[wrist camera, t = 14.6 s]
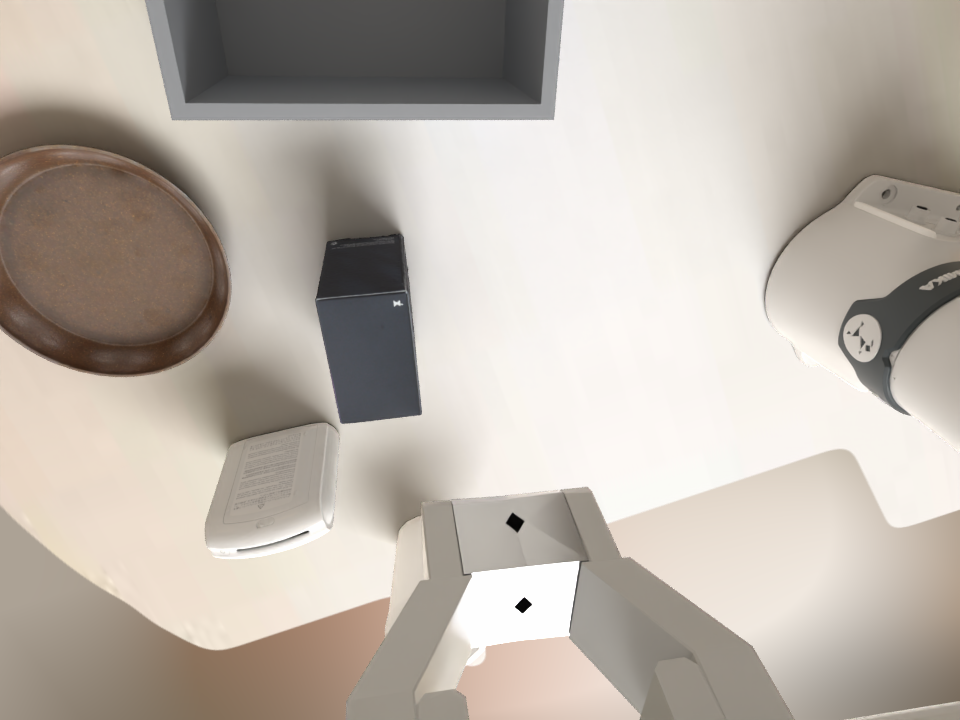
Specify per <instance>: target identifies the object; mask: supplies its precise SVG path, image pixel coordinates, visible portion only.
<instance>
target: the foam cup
mask: <svg viewBox="0 0 960 720" xmlns="http://www.w3.org/2000/svg"><path fill="white" fill-rule="evenodd" d="M421 580H424V573H423V553H422V524H421V516H418V517H416V518H413V519H411V520H409V521H407V522H406V523H405V524H404V525H403V526H402V527H401V529H400V530H399V533H398V538H397V545H396V554H395V563H394V571H393V580H392V589H391V598H390V608H389V614H388V617H387V622H386V626H385V637H386V635H387V634H388V632H389V630H390V629H391V627H392V626H393V624H394V622H395V621H396V619H397V617H398V616H399V614H400V612H401V611H402V609H403V608H404V606H405V604H406V603H407V601H408V599H409V598H410V596H411V594H412V593H413V591H414V589H415V588H416V586H417V585H418V583H419V581H421ZM485 647H486V646H480V647H474V648H471V653H470V656H469V658H468V661H467V663H466V665H468V664H470V663H471V662H473V661H474V660H475V659H476V658H477V657H478V656H479V655H480V654H481V653H482V652H483V651H484V650H485Z"/></svg>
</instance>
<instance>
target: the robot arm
mask: <svg viewBox="0 0 960 720" xmlns="http://www.w3.org/2000/svg"><path fill="white" fill-rule="evenodd" d="M884 191H885V192H884ZM883 192H884V194H883V195H882V193H883ZM765 305H766V312H767V316H768V319H769V321H770V323H771V325H772V327H773V328H774V329H775V331H776V332H777V333H778V334H780V335H781V336H782V337H783V338H785V339H786V340H788V341H789V342H790V343H791V344H792V345H793V347H794V350H795V353H796V356H797V358H798V359H799V361H800V362H802V363H803V364H805V365H806V366H808V367H816V366H822V367H824V368H825V369H827V370H828V371H830V372H831V373H833V374H834V375H836V376H837V377H839V378H840V379H842V380H843V381H845V382H846V383H848V384H849V385H851V386H852V387H854V388H855V389H857V390H859V391H863V392H867V391H871V392H872V394H873V395H875V396H876V397H877V398H878V399H879V400H881V401H882V402H883V403H885V404H887V405H889V406H891V407H893V408H894V409H895V410H897V411H899V412H901V413H903V414H906V415H910V416H913V417H914V418H915V419H917V420H918V421H919V422H921V423H922V424H923V425H924V426H926V427H927V428H928V429H929V430H931V431H932V432H933V433H935V434H936V435H937V436H938V437H940V438H941V439H942V440H943V441H945V442H946V443H947V444H948V445H950V446H951V447H952V448H954V449H955V450H956V451H957V452H959V453H960V193H955V192H951V191H946V190H942V189H937V188H933V187H929V186H924V185H920V184H915V183H911V182H906V181H902V180H897V179H893V178H889V177H884V176H880V175H872V176H869V177H867V178H865V179H864V180H863V181H861V182H860V183H859V184H858V185H857V186H856V187H855V188H854V189H853V190H852V191H851V192H850V194H849V195H848V196H847V197H846V198H845V199H844V200H843V201H842V202H841V203H840V204H839V205H837V206H836V207H834V208H833V209H831V210H830V211H828V212H826V213H825V214H823V215H821V216H820V217H818V218H817V219H815V220H814V221H812V222H811V223H810V224H809V225H807V226H806V227H805V228H804V229H803V230H802V231H800V232H799V233H798V234H797V235H796V236H795V237H794V239H793V240H792V241H791V242H790V243H789V244H788V246H787V247H786V248H785V249H784V251H783V252H782V254H781V255H780V257H779V259H778V260H777V262H776V264H775V266H774V268H773V270H772V273H771V275H770V278H769V281H768V285H767V289H766V297H765ZM421 524H422V553H423V573H424V580H421V581H419V583H418V585H417V586H416V588H415V589H414V591H413V593H412V594H411V596H410V598H409V599H408V601H407V603H406V604H405V606H404V608H403V609H402V611H401V612H400V614H399V616H398V617H397V619H396V621H395V622H394V624H393V626H392V627H391V629H390V630H389V632H388V634H387V635H386V637H385V639H384V641H383V642H382V644H381V645H380V647H379V649H378V650H377V652H376V654H375V655H374V657H373V658H372V660H371V662H370V663H369V665H368V666H367V668H366V670H365V671H364V673H363V675H362V676H361V678H360V680H359V681H358V683H357V685H356V686H355V688H354V690H353V691H352V693H351V694H350V696H349V698H348V699H347V701H346V720H469V716H468V709H467V702H466V697H465V696H464V695H463V694H461V693H460V692H458V691H456V687H457V685H458V682H459V680H460V677H461V675H462V672H463V670H464V668H465V665H466V663H467V661H468V658H469V656H470V653H471V648H474V647H480V646H486V645H493V644H499V643H505V642H511V641H517V640H527V639H537V638H547V637H557V636H567V635H569V638H570V639H571V640H572V642H573V643H574V644H575V645H576V646H577V647H578V648H579V649H580V650H581V651H582V652H583V653H584V654H585V656H586V657H587V658H588V659H589V660H590V661H591V662H592V663H593V664H594V665H595V666H596V667H597V668H598V669H599V671H600V672H601V673H602V674H603V675H604V676H605V677H606V678H607V679H608V680H609V681H610V682H611V683H612V684H613V686H614V687H615V688H616V689H617V690H618V691H619V692H620V693H621V694H622V695H623V696H624V697H625V698H626V699H627V701H628V702H629V703H630V704H631V705H632V706H633V707H634V708H635V709H636V710H637V711H638V712H639V713H640V714H641V717H640V720H795V719H794V717H793V715H792V714H791V712H790V710H789V709H788V707H787V705H786V703H785V702H784V700H783V698H782V696H781V695H780V693H779V691H778V690H777V688H776V686H775V684H774V683H773V681H772V679H771V677H770V676H769V674H768V672H767V671H766V669H765V667H764V665H763V664H762V662H761V660H760V659H759V657H758V655H757V653H756V652H755V650H754V648H753V646H751V645H750V644H749V643H747V642H746V641H745V640H743V639H742V638H740V637H739V636H738V635H736V634H735V633H734V632H732V631H731V630H729V629H728V628H727V627H725V626H724V625H723V624H721V623H720V622H718V621H717V620H716V619H714V618H713V617H711V616H710V615H709V614H707V613H706V612H705V611H703V610H702V609H701V608H699V607H698V606H697V605H695V604H694V603H692V602H691V601H690V600H688V599H687V598H685V597H684V596H683V595H681V594H680V593H678V592H677V591H676V590H674V589H673V588H672V587H670V586H669V585H668V584H666V583H665V582H664V581H662V580H661V579H659V578H658V577H657V576H655V575H654V574H652V573H651V572H650V571H648V570H647V569H646V568H644V567H643V566H641V565H640V564H639V563H637V562H636V561H635V560H633V559H632V558H631V557H627V558H622V557H621V555H620V553H619V551H618V548H617V546H616V544H615V542H614V539H613V537H612V535H611V533H610V530H609V528H608V527H607V524H606V522H605V519H604V517H603V515H602V513H601V510H600V508H599V506H598V504H597V502H596V499H595V497H594V495H593V493H592V491H591V490H590V489H589V488H588V487H582V488H572V489H562V490H560V491H559V490H553V491H544V492H534V493H524V494H515V495H505V496H496V497H482V498H467V499H452V500H451V501H450V500H448V501H432V502H422V503H421ZM846 720H960V701H958V702H951V703H945V704H939V705H933V706H927V707H921V708H914V709H909V710H902V711H896V712H890V713H884V714H877V715H871V716H865V717H859V718H852V719H846Z"/></svg>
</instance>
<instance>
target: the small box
mask: <svg viewBox="0 0 960 720" xmlns="http://www.w3.org/2000/svg"><path fill="white" fill-rule="evenodd" d="M315 301H316V307H317V312H318V316H319V321H320V326H321V331H322V335H323V340H324V345H325V350H326V354H327V359H328V364H329V369H330V374H331V379H332V384H333V388H334V393H335V398H336V403H337V408H338V413H339V418H340V422H341V423H342V424H345V423H357V422H366V421H374V420H383V419H392V418H400V417H408V416H416V415H421V414H422V409H421V399H420V390H419V380H418V370H417V359H416V347H415V337H414V327H413V318H412V306H411V298H410V288H409V277H408V267H407V262H406V254H405V247H404V237H403V236H402V235H400V234H398V235H396V234H394V235H390V236H381V237H370V238H359V239H349V238H348V239H342V240H336V241H329V242H327V245H326V251H325V256H324V261H323V266H322V271H321V276H320V281H319V287H318V292H317V296H316V299H315Z"/></svg>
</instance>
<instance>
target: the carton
mask: <svg viewBox="0 0 960 720" xmlns="http://www.w3.org/2000/svg"><path fill="white" fill-rule="evenodd" d="M145 2H146V7H147V11H148V16H149V20H150V24H151V29H152V33H153V38H154V42H155V47H156V51H157V56H158V60H159V64H160V69H161V73H162V78H163V82H164V87H165V91H166V95H167V100H168V104H169V109H170V113H171V118H172V120H554V113H555V101H556V89H557V77H558V66H559V54H560V42H561V30H562V18H563V7H564V0H145Z"/></svg>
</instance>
